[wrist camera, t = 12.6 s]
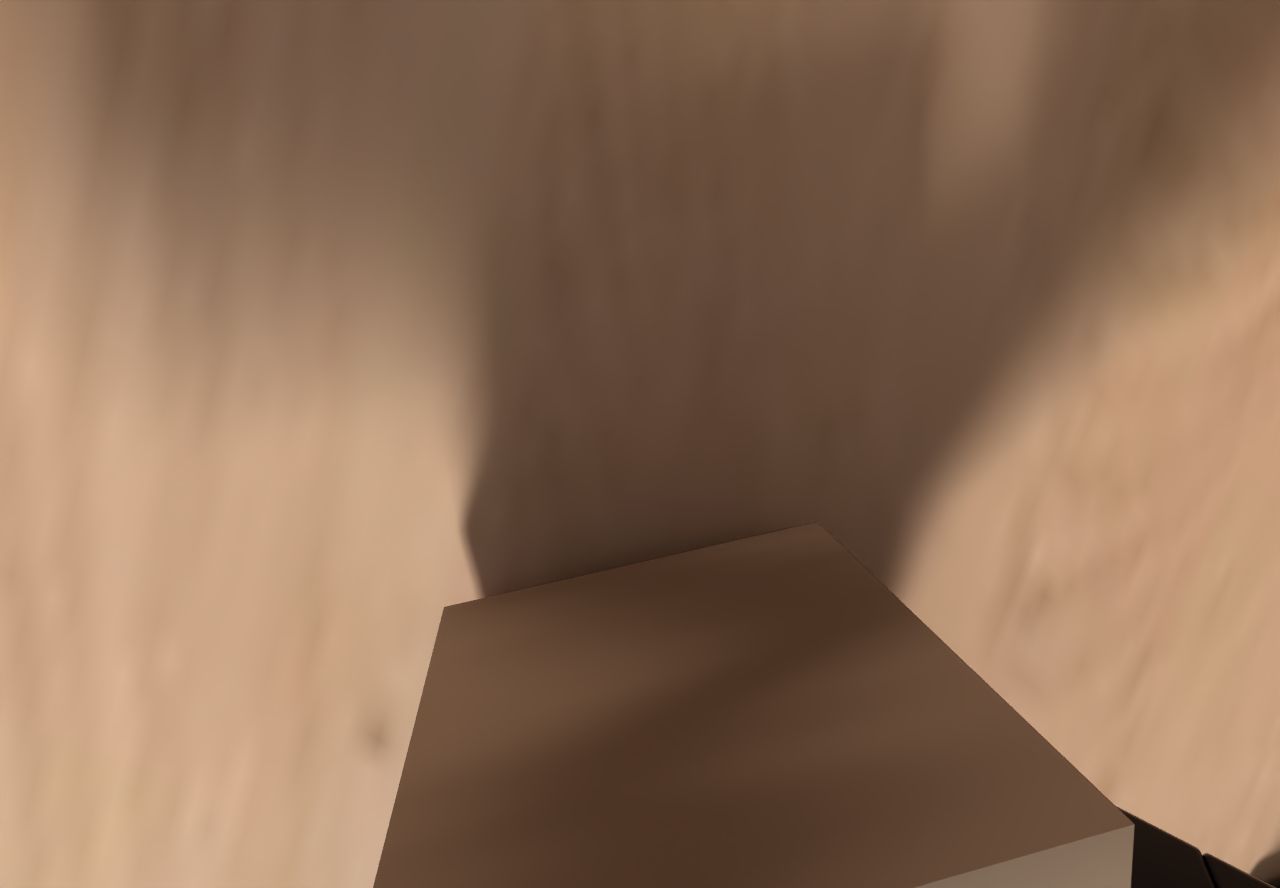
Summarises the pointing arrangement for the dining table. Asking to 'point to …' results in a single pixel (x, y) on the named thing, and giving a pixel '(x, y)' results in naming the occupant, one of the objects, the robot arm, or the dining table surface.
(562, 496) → the dining table surface
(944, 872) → the walnut cube
